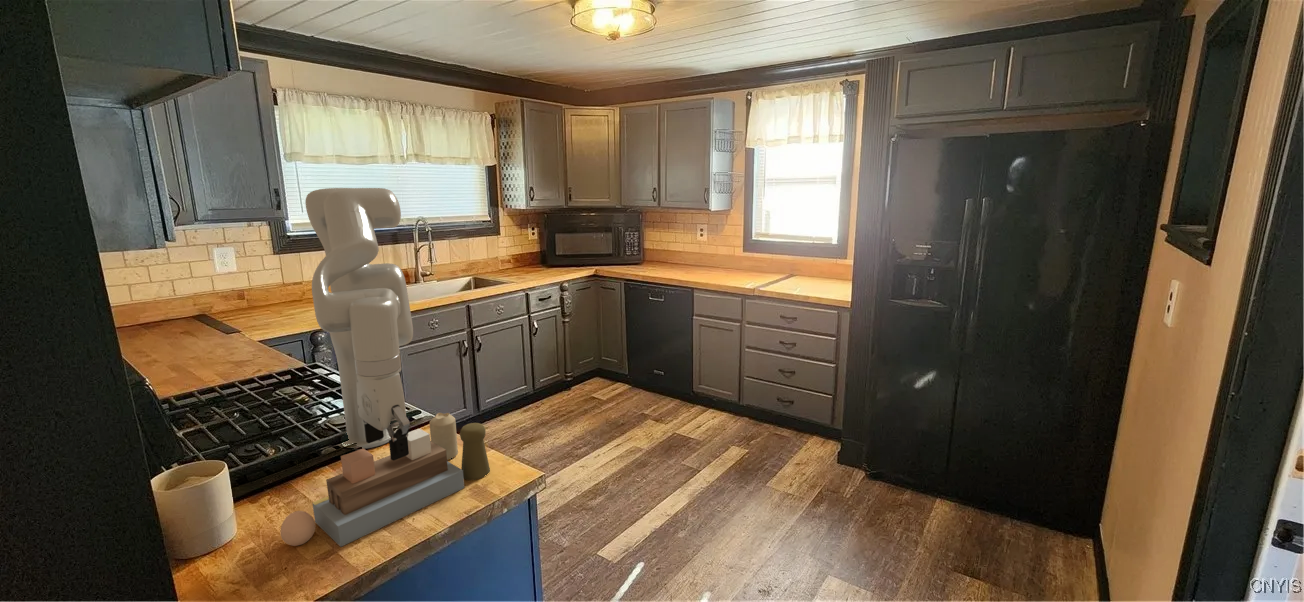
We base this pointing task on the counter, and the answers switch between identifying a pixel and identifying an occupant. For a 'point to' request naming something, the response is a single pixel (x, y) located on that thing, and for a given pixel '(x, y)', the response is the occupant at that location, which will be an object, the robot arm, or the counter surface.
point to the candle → (444, 433)
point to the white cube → (418, 444)
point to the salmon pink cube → (358, 465)
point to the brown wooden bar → (385, 479)
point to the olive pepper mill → (474, 452)
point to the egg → (297, 528)
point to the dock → (385, 507)
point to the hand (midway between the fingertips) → (387, 448)
